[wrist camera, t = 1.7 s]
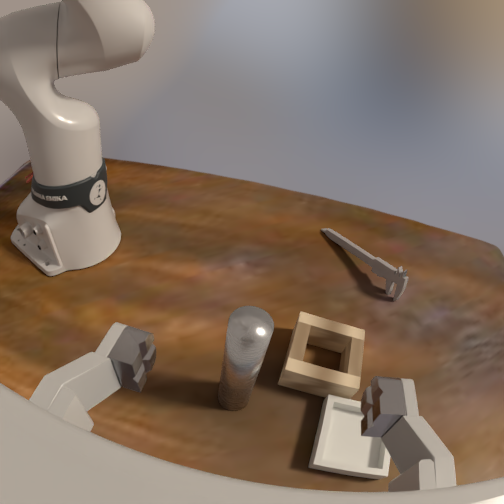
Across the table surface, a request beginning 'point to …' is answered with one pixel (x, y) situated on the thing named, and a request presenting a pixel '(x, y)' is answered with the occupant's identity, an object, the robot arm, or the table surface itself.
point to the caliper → (373, 264)
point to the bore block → (326, 337)
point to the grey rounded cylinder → (243, 355)
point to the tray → (347, 442)
